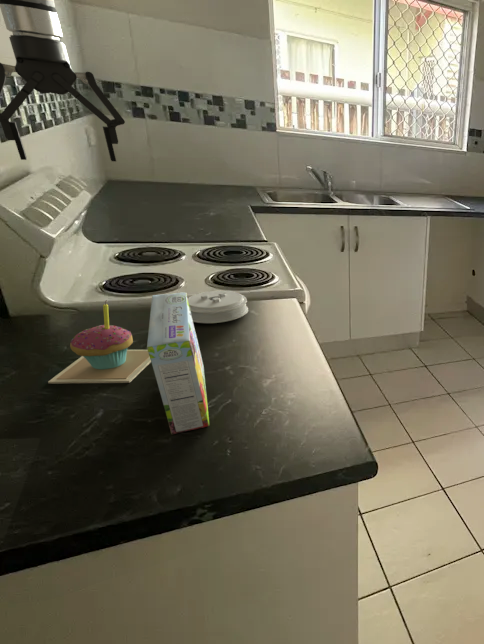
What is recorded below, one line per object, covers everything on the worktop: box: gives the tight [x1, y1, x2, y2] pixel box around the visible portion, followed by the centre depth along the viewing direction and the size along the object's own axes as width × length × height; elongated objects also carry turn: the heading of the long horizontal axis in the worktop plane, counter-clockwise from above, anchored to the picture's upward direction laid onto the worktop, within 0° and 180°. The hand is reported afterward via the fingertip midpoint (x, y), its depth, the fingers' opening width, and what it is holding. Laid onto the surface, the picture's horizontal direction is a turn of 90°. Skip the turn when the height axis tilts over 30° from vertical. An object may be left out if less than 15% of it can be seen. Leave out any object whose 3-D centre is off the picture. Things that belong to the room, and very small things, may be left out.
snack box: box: [146, 291, 210, 436], centre depth 76 cm, size 21×6×15 cm, turn 33°
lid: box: [187, 289, 249, 324], centre depth 108 cm, size 13×13×5 cm
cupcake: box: [69, 299, 134, 369], centre depth 83 cm, size 9×8×12 cm
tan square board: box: [47, 349, 152, 385], centre depth 86 cm, size 12×12×1 cm
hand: (70, 160), depth 95 cm, fingers open, 13 cm apart
